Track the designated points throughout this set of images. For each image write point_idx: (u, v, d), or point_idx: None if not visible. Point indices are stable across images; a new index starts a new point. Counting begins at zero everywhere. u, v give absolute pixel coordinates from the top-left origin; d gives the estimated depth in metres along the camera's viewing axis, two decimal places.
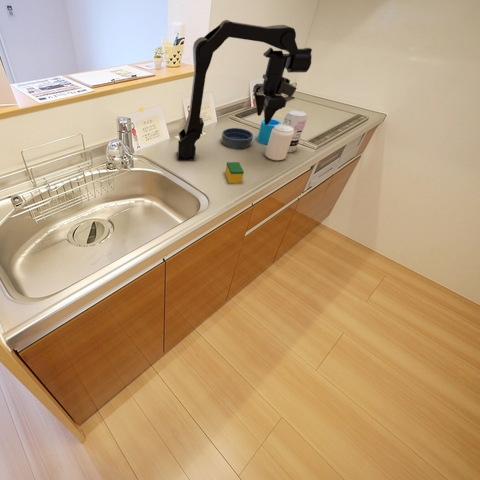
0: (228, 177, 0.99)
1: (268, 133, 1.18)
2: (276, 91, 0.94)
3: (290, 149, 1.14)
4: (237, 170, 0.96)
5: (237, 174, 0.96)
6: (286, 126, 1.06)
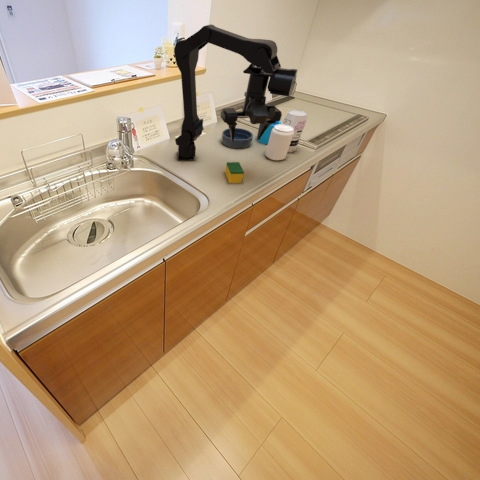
0: (228, 177, 0.99)
1: (268, 133, 1.18)
2: None
3: (290, 149, 1.14)
4: (237, 170, 0.96)
5: (237, 174, 0.96)
6: (286, 126, 1.06)
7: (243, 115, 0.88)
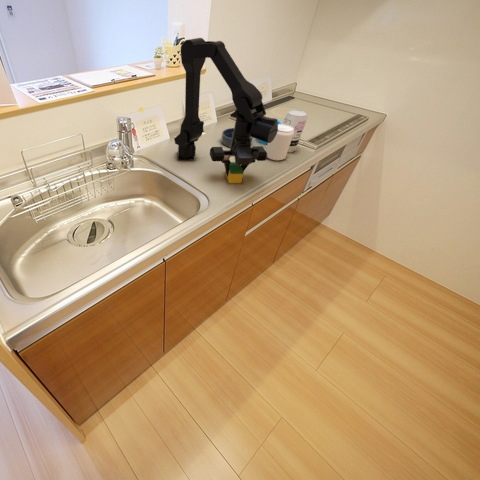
0: (228, 177, 0.99)
1: None
2: None
3: (290, 149, 1.14)
4: (237, 170, 0.96)
5: (237, 174, 0.96)
6: (286, 126, 1.06)
7: None
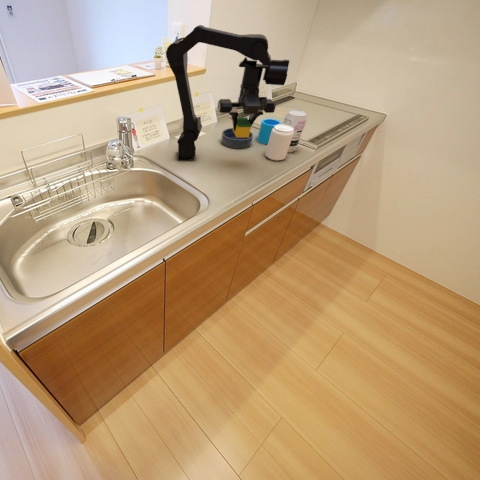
0: (236, 131, 0.99)
1: (268, 133, 1.18)
2: None
3: (290, 149, 1.14)
4: (245, 123, 0.96)
5: (244, 127, 0.96)
6: (286, 126, 1.06)
7: None
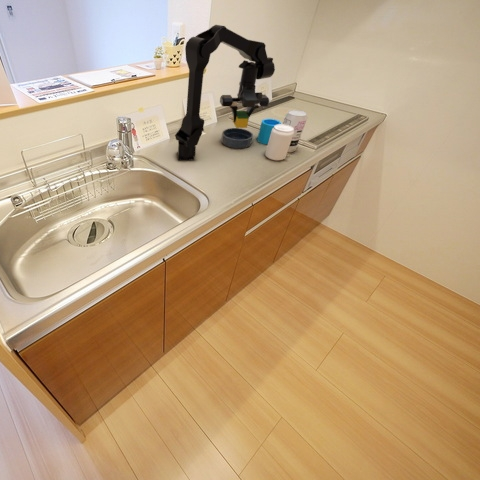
0: (235, 123, 1.15)
1: (268, 133, 1.18)
2: None
3: (290, 149, 1.14)
4: (243, 115, 1.12)
5: (243, 119, 1.12)
6: (286, 126, 1.06)
7: None
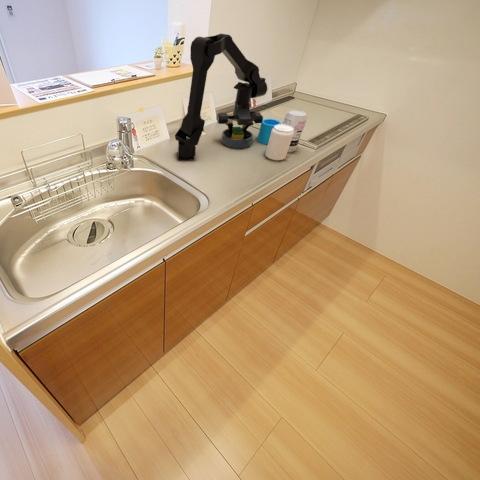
0: (231, 138, 1.21)
1: (268, 133, 1.18)
2: None
3: (290, 149, 1.14)
4: (239, 132, 1.18)
5: (238, 135, 1.18)
6: (286, 126, 1.06)
7: None
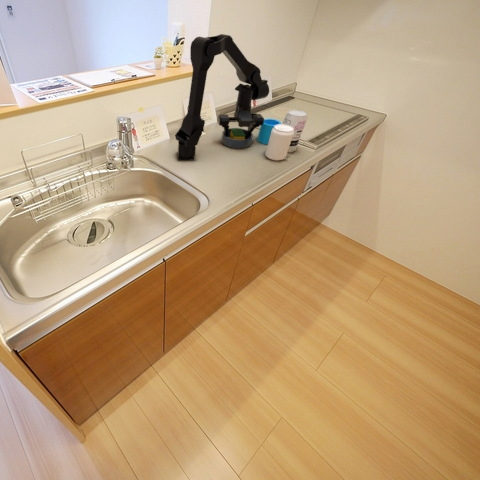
0: None
1: (268, 133, 1.18)
2: None
3: (290, 149, 1.14)
4: (240, 134, 1.17)
5: (239, 137, 1.17)
6: (286, 126, 1.06)
7: (234, 120, 1.15)
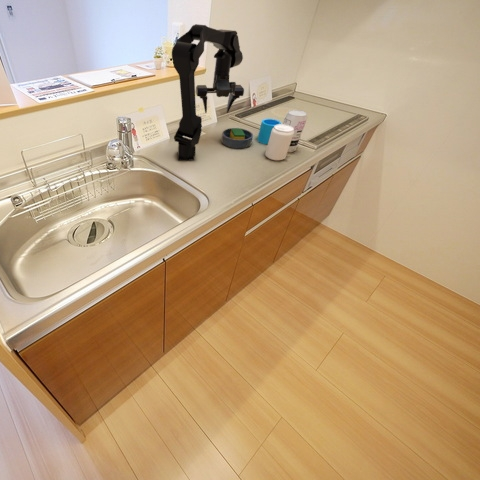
0: None
1: (268, 133, 1.18)
2: (214, 86, 1.08)
3: (290, 149, 1.14)
4: (240, 134, 1.17)
5: (239, 137, 1.17)
6: (286, 126, 1.06)
7: (212, 90, 1.10)
